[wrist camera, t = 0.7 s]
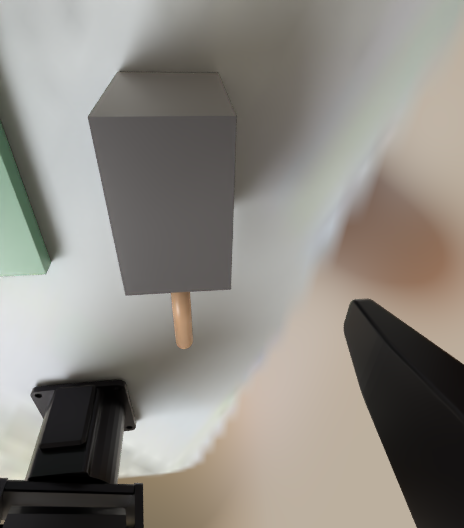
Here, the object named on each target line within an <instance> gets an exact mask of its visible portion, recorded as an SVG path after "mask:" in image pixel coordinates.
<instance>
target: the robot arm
mask: <svg viewBox="0 0 464 528" xmlns="http://www.w3.org/2000/svg"><path fill="white" fill-rule="evenodd" d="M344 334H345V338H346V341H347V345H348V348H349V352H350V355H351V358H352V362H353V365H354V369H355V372H356V376H357V379H358V382H359V386H360V389H361V392H362V395H363V398H364V400H365V403H366V405H367V408H368V410H369V413H370V415H371V418H372V420H373V422H374V425H375V427H376V430H377V432H378V434H379V437H380V439H381V442H382V444H383V446H384V449H385V451H386V454H387V456H388V459H389V461H390V464H391V466H392V468H393V471H394V473H395V476H396V478H397V481H398V483H399V485H400V488H401V490H402V492H403V495H404V497H405V500H406V502H407V505H408V507H409V510H410V512H411V514H412V517H413V519H414V522H415V524H416V527H417V528H464V364H462V363H461V362H460V361H458V360H457V359H455V358H454V357H452V356H451V355H450V354H448V353H447V352H445V351H444V350H442V349H441V348H440V347H438V346H437V345H435V344H434V343H433V342H431V341H429V340H428V339H427V338H425V337H424V336H423V335H421V334H419V333H418V332H417V331H415V330H414V329H413V328H411V327H410V326H408V325H407V324H405V323H404V322H403V321H401V320H400V319H398V318H397V317H396V316H394V315H393V314H391V313H390V312H388V311H387V310H386V309H384V308H383V307H381V306H380V305H379V304H377V303H376V302H374V301H373V300H371V299H355V300H353V301H351V303H350V305H349V308H348V312H347V315H346V319H345V322H344ZM31 398H32V399H33V401H34V403H35V405H36V406H37V408H38V410H39V412H40V413H41V415H42V417H43V419H44V420H43V423H42V426H41V429H40V433H39V436H38V439H37V442H36V446H35V449H34V452H33V455H32V459H31V462H30V465H29V468H28V472H27V475H26V478H25V481H24V480H8V478H0V523H1V520H5V522H4V524H0V528H144V525H143V484H142V483H134V485H133V484H117V481H118V474H119V465H120V457H121V449H122V441H123V432H124V431H130V430H134V429H135V428H136V420H135V416H134V412H133V409H132V405H131V401H130V397H129V394H128V390H127V386H126V383H125V382H124V381H122V380H113V381H101V382H89V383H77V384H65V385H53V386H41V387H35V388H33V390H32V392H31Z"/></svg>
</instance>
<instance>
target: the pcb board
mask: <svg viewBox="0 0 464 528" xmlns="http://www.w3.org/2000/svg"><path fill="white" fill-rule="evenodd" d="M50 264H51V260H50V258H49V255H48V252H47V249H46V246H45V244H44V241H43V238H42V235H41V233H40V230H39V227H38V224H37V221H36V219H35V216H34V213H33V210H32V207H31V205H30V202H29V199H28V196H27V193H26V191H25V188H24V185H23V182H22V179H21V177H20V174H19V171H18V168H17V165H16V163H15V160H14V157H13V154H12V151H11V149H10V146H9V143H8V140H7V138H6V135H5V132H4V129H3V126H2V124H1V121H0V277H3V276H23V275H42V274H46V273H47V271H48V269H49V266H50Z"/></svg>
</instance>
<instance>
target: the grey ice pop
mask: <svg viewBox="0 0 464 528" xmlns="http://www.w3.org/2000/svg"><path fill="white" fill-rule="evenodd" d="M88 120H89V125H90V129H91V134H92V139H93V144H94V148H95V153H96V158H97V163H98V167H99V172H100V177H101V181H102V186H103V191H104V196H105V200H106V205H107V210H108V215H109V219H110V224H111V229H112V233H113V238H114V243H115V248H116V252H117V257H118V262H119V266H120V271H121V276H122V281H123V285H124V290H125V295H143V294H160V293H171V300H172V309H173V319H174V328H175V338H176V344H177V346H178V347H179V348H181V349H187V348H189V347H190V346H191V345H192V343H193V334H192V317H191V301H190V292H194V291H211V290H228V289H231V269H232V239H233V209H234V179H235V150H236V120H237V115H236V113H235V111H234V108H233V106H232V104H231V101H230V99H229V97H228V94H227V92H226V90H225V88H224V85H223V83H222V81H221V78H220V76H219V74H218V73H216V72H117V73H116V75H115V76H114V78H113V79H112V81H111V82H110V84H109V85H108V87H107V88H106V90H105V91H104V93H103V94H102V96H101V97H100V99H99V101H98V102H97V104H96V105H95V107H94V108H93V110H92V111H91V113H90V114H89V116H88Z"/></svg>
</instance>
